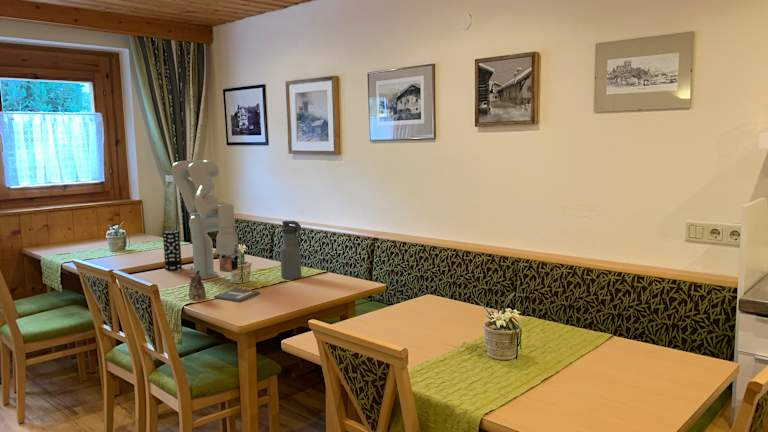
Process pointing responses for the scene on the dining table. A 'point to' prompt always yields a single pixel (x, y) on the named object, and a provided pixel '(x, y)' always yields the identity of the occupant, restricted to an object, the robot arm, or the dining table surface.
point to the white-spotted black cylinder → (172, 250)
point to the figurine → (196, 287)
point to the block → (227, 264)
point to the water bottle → (291, 251)
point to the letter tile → (237, 294)
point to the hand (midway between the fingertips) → (229, 268)
